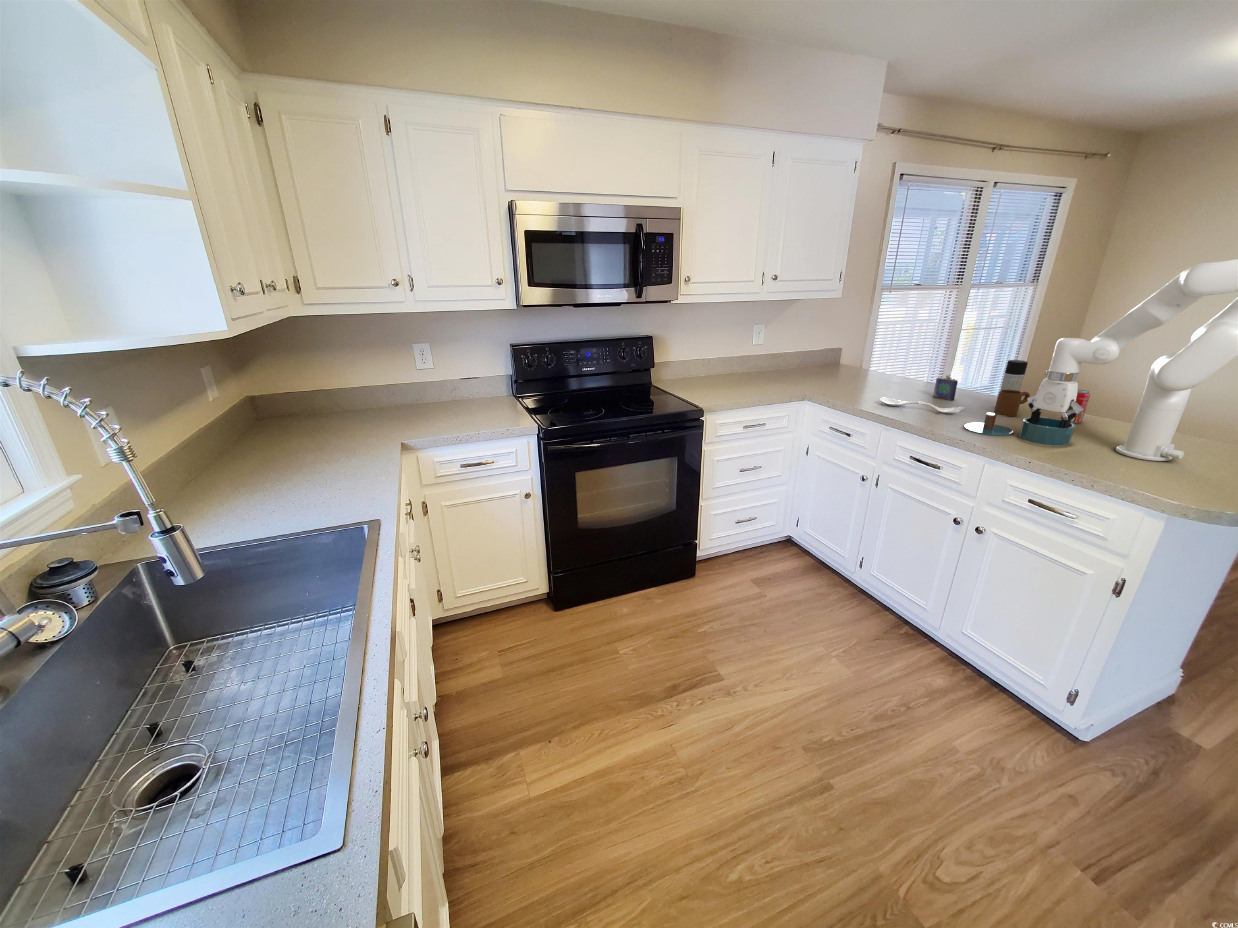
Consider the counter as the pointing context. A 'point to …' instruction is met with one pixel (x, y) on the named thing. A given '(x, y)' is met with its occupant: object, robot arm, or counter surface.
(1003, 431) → the lid
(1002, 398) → the mug
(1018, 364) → the spray can
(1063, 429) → the dish
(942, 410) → the spoon
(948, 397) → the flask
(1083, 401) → the soda can
